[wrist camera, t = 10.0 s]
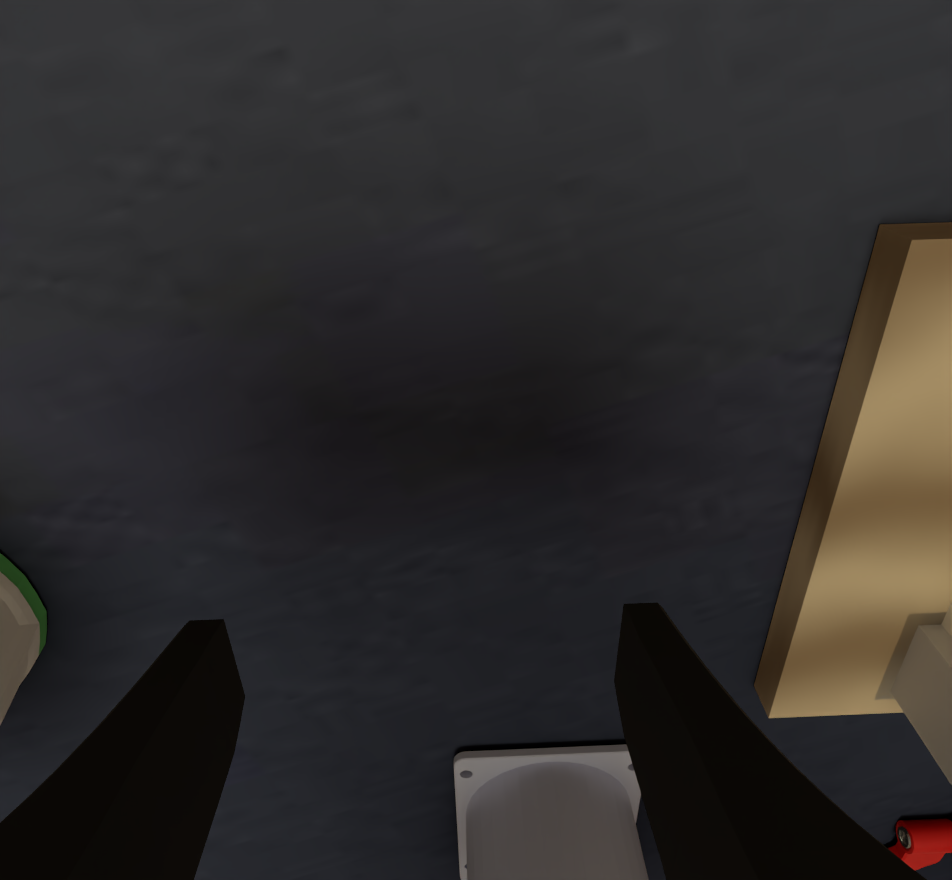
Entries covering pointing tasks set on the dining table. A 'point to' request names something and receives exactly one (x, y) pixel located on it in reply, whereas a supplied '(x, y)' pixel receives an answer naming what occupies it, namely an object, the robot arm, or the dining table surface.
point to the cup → (18, 630)
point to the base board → (873, 496)
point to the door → (929, 689)
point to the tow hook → (923, 841)
